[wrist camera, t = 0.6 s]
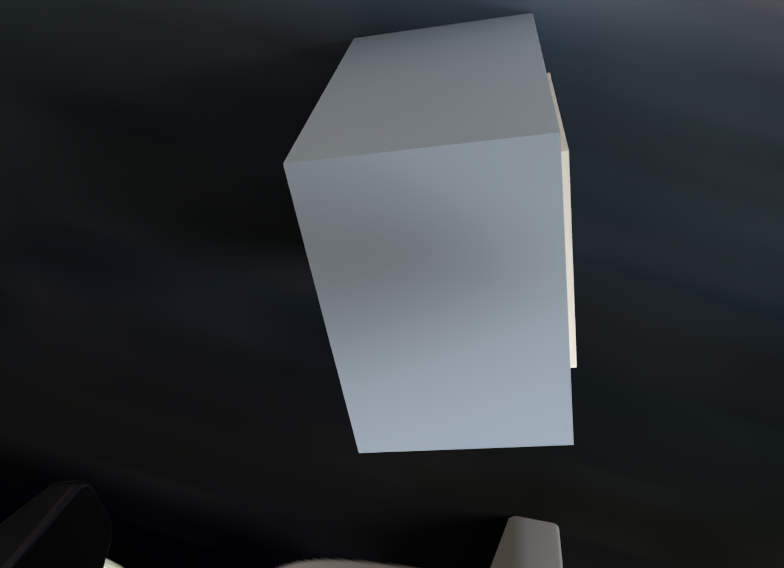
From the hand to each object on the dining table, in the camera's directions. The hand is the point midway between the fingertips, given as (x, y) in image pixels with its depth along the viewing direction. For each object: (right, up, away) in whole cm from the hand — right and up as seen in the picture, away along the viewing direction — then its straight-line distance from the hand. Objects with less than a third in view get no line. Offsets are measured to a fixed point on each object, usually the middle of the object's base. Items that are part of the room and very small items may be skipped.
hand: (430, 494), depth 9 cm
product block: (+1, +6, +9) cm, 11 cm away
